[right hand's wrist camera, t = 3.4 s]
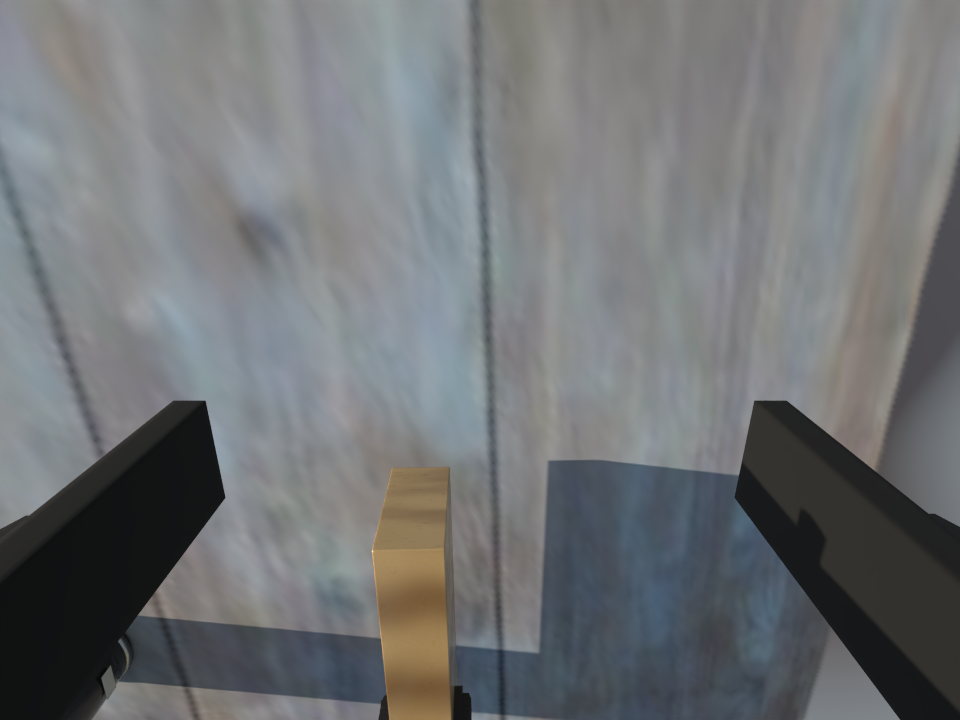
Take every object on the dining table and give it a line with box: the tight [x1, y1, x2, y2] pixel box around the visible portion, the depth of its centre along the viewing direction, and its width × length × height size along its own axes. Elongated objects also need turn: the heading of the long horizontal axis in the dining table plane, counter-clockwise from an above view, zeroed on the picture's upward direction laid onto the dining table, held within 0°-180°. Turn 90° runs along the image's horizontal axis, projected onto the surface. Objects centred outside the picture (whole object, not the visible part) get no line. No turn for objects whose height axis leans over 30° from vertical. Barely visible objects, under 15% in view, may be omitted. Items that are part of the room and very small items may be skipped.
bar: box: [372, 467, 457, 720], centre depth 41 cm, size 23×4×9 cm, turn 1°
